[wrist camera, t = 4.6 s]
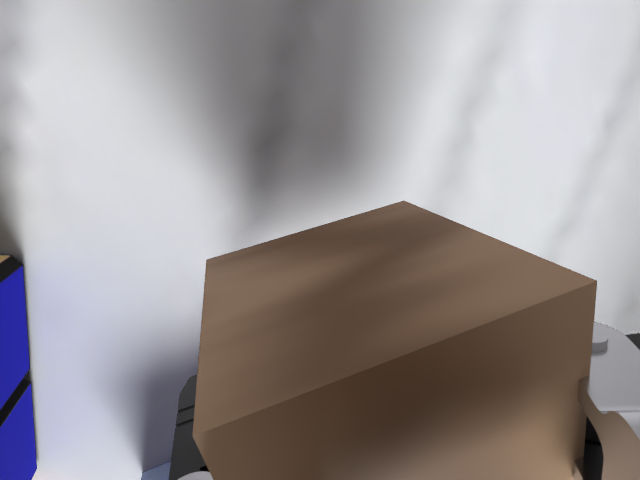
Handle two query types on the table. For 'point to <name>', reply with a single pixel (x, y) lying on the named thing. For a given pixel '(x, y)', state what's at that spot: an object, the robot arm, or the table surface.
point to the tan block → (392, 355)
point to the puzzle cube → (15, 377)
